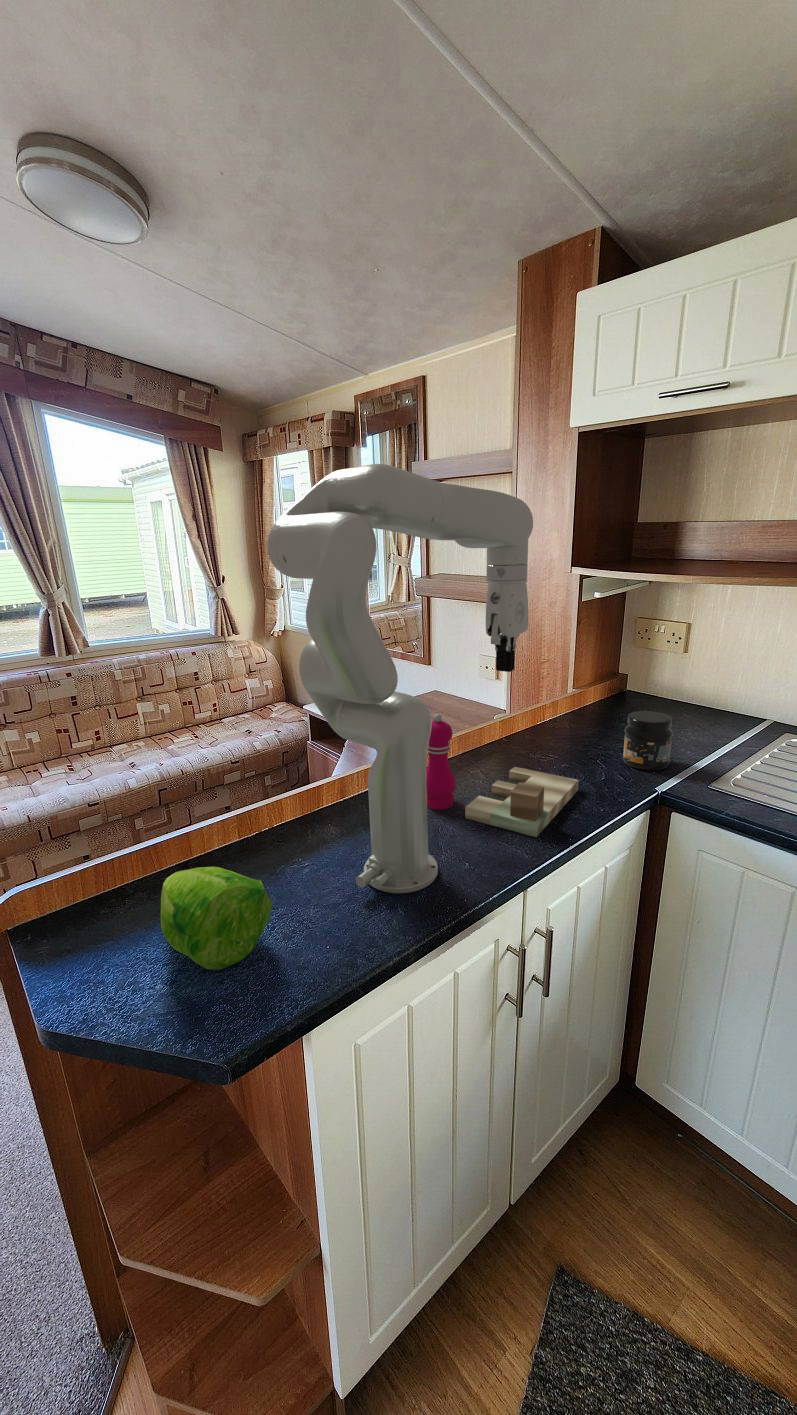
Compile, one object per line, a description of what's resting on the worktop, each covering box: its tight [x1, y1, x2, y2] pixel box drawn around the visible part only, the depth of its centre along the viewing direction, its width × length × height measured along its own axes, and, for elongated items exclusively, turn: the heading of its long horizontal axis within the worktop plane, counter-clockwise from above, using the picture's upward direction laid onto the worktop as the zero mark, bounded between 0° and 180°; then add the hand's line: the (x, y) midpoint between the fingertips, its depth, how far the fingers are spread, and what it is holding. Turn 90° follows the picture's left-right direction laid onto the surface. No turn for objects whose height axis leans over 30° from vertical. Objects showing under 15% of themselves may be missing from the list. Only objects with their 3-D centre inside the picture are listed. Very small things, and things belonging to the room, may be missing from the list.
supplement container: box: [622, 710, 674, 772], centre depth 137 cm, size 10×10×12 cm
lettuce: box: [160, 866, 274, 971], centre depth 80 cm, size 14×20×12 cm
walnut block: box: [510, 782, 544, 821], centre depth 110 cm, size 5×5×5 cm
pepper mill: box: [426, 713, 457, 811], centre depth 119 cm, size 7×7×20 cm
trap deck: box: [464, 766, 579, 838], centre depth 120 cm, size 24×15×2 cm, turn 145°
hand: (505, 670), depth 112 cm, fingers closed
